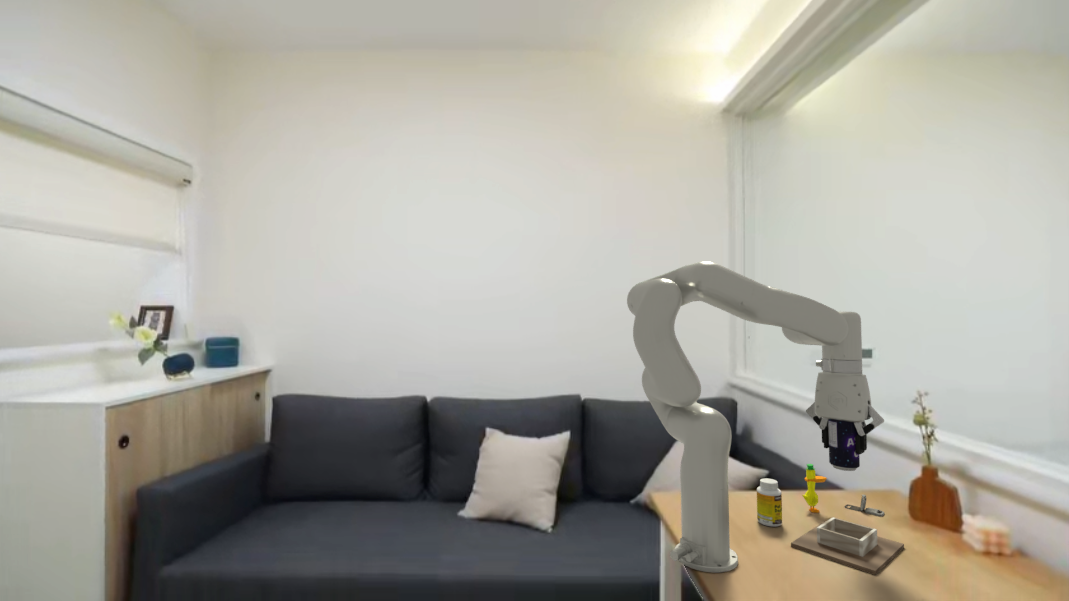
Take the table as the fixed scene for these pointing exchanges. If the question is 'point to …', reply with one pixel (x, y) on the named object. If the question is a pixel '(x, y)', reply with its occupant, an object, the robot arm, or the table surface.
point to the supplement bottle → (769, 503)
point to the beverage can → (843, 445)
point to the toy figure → (812, 487)
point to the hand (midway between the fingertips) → (843, 449)
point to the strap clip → (867, 510)
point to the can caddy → (849, 545)
